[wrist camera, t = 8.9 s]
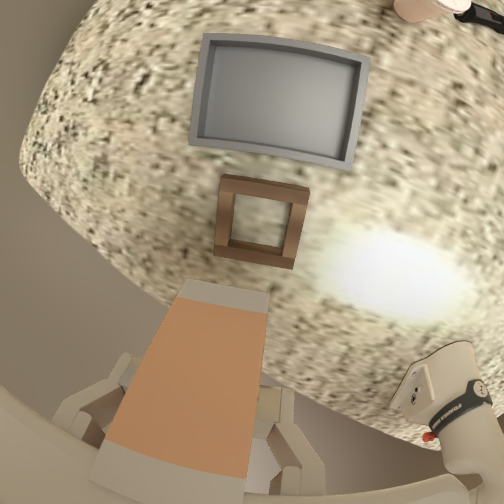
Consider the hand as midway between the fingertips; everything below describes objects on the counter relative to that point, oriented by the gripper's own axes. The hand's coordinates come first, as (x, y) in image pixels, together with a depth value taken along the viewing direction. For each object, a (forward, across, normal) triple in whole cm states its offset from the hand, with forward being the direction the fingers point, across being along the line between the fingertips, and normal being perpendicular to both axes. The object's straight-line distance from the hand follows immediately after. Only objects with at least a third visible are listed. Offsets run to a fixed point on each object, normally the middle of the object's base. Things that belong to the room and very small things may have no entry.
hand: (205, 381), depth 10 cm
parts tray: (+23, 0, -12) cm, 26 cm away
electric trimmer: (+24, -27, -35) cm, 50 cm away
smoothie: (+24, -14, -28) cm, 39 cm away
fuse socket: (+23, 0, +2) cm, 23 cm away
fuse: (+4, 0, 0) cm, 4 cm away
